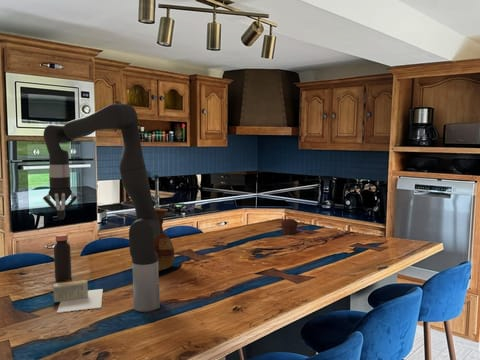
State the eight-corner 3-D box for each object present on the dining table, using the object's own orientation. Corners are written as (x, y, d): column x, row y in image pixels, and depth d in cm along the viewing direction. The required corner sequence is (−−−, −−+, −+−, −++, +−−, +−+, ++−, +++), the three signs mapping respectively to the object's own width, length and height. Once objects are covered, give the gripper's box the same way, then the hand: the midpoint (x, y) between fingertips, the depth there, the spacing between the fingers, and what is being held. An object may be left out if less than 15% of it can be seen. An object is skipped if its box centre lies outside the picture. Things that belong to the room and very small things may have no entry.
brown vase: (182, 269, 197) (181, 207, 195) (147, 279, 183) (145, 213, 180) (158, 261, 211) (157, 203, 208) (123, 270, 196) (122, 208, 194)
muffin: (280, 235, 270) (280, 220, 269) (281, 231, 281) (281, 217, 280) (298, 235, 268) (298, 220, 267) (298, 232, 279) (298, 217, 278)
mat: (102, 289, 169) (102, 288, 169) (101, 308, 150) (101, 307, 150) (63, 293, 165) (63, 292, 165) (56, 313, 146) (56, 312, 146)
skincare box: (53, 298, 159) (87, 294, 164) (53, 302, 155) (88, 298, 160) (53, 282, 158) (87, 279, 163) (53, 286, 154) (87, 282, 159)
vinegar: (68, 275, 189) (66, 232, 187) (74, 278, 184) (72, 234, 182) (52, 278, 184) (50, 235, 182) (58, 282, 179) (56, 237, 177)
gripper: (39, 177, 156) (41, 221, 158) (77, 176, 160) (78, 219, 162) (42, 175, 163) (44, 218, 165) (78, 174, 167) (79, 216, 169)
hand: (61, 219), depth 163 cm, fingers closed
